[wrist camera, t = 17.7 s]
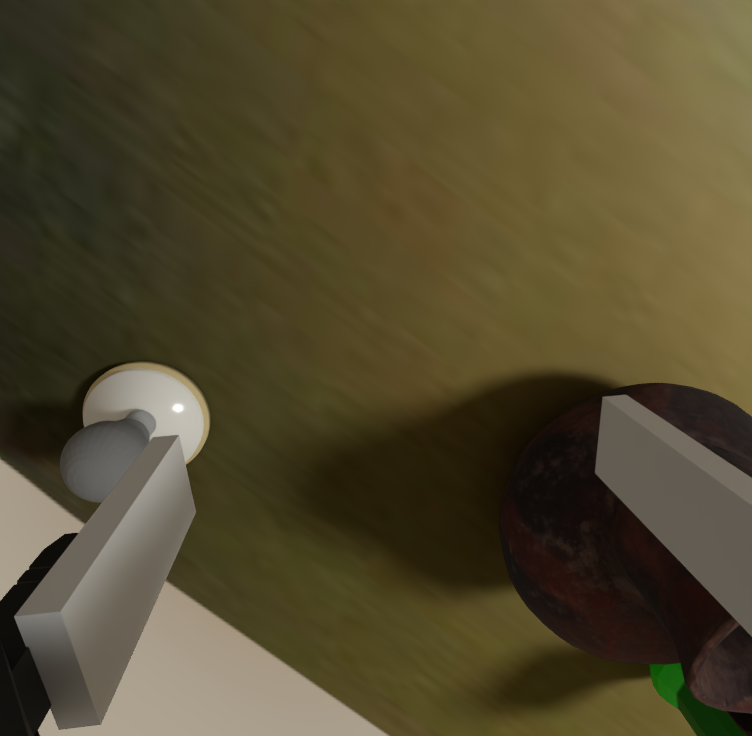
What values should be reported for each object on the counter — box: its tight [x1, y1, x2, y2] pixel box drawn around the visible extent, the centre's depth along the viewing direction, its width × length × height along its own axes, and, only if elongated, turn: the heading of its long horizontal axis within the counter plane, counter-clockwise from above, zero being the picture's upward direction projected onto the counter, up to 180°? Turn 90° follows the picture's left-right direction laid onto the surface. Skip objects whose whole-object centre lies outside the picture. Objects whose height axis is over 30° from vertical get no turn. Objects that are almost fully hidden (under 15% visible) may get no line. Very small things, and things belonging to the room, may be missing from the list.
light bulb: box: [60, 410, 156, 502], centre depth 38 cm, size 6×6×10 cm
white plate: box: [83, 360, 211, 465], centre depth 43 cm, size 11×11×2 cm
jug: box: [499, 383, 752, 736], centre depth 39 cm, size 25×25×25 cm
